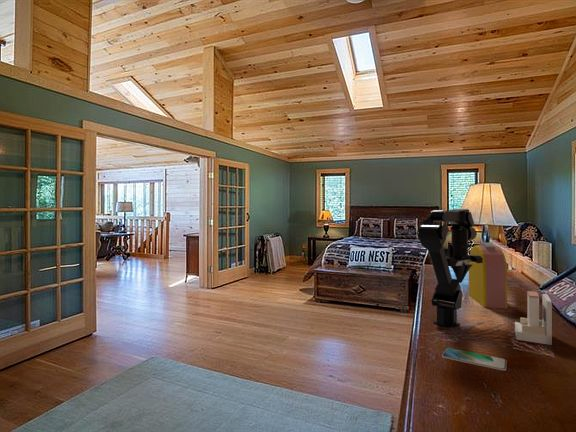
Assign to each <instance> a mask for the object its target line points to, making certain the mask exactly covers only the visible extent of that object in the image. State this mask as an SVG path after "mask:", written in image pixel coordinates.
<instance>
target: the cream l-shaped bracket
mask: <svg viewBox="0 0 576 432" xmlns="http://www.w3.org/2000/svg"><path fill="white" fill-rule="evenodd" d="M552 305H553V303H552V299H550V297H549V295H548V294H547V293H542V307H541V309H542V310H541V312H542V319H539V327H536V326H529V325H528V324H527V317H520V318H519V319H520V320H519V321H520V322H518V321H515V322H514V333H515V339H516V340H518V341H524V342H530V343H537V344H543V345H550V346H552V345H553V342H552V341H553V340H552V339H553V337H552V336H553V334H552V333H553V332H552V331H553V328H552V327H553V326H552V325H553V324H552V323H553V321H552V320H553V319H552V318H553V314H552V312H553V306H552Z"/></svg>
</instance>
